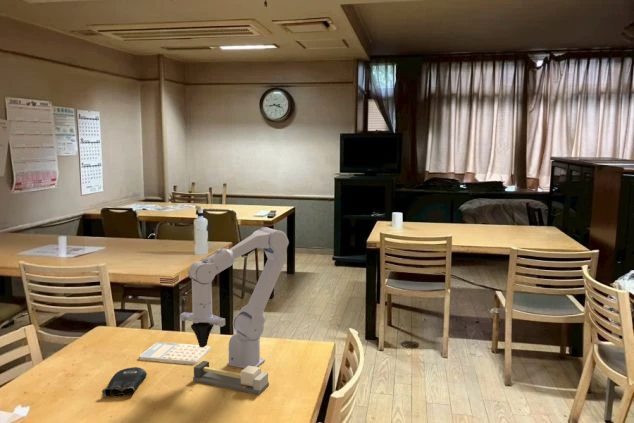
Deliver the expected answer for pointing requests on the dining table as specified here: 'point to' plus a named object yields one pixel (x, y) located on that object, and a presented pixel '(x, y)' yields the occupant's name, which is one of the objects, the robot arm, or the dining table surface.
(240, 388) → the cord board
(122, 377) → the electronic device
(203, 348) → the calculator
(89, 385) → the dining table surface
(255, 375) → the beige sliding bead
